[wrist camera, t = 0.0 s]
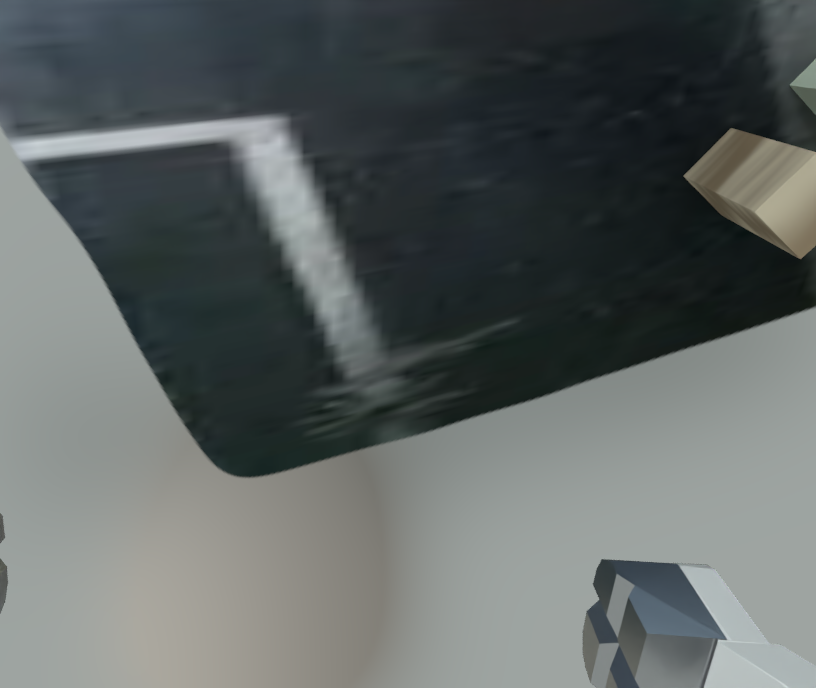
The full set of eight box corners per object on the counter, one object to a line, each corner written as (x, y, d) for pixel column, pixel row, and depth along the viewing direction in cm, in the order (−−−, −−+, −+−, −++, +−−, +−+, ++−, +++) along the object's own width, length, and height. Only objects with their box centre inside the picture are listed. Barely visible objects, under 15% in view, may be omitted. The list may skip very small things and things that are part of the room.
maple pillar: (682, 176, 46) (754, 211, 37) (730, 127, 45) (817, 152, 36) (721, 215, 48) (800, 259, 38) (769, 169, 46) (862, 203, 37)
